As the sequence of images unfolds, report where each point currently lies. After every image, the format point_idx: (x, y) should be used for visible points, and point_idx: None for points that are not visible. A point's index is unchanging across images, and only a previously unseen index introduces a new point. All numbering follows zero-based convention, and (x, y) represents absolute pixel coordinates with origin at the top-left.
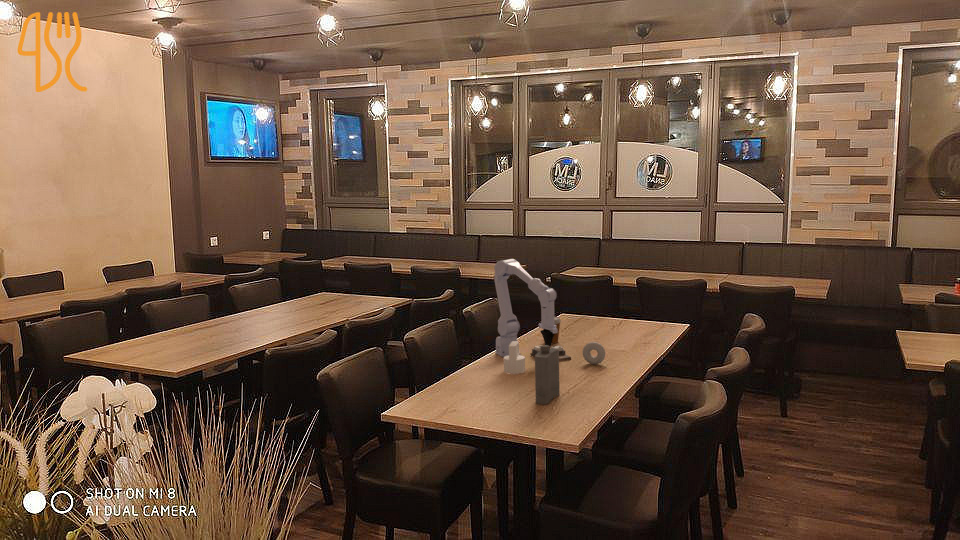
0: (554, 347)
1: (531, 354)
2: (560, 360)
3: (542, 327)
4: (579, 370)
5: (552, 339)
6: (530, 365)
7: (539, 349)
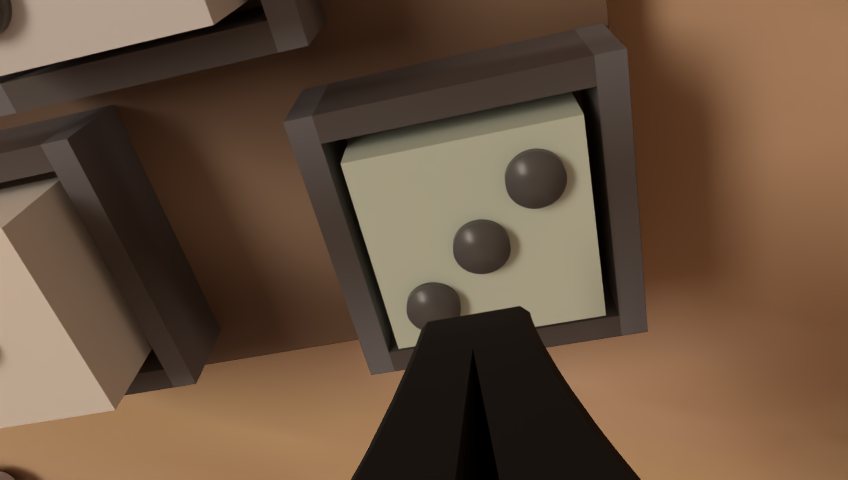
0: (63, 3)
1: None
2: None
3: None
4: None
5: (626, 469)
6: (652, 469)
7: (117, 357)
